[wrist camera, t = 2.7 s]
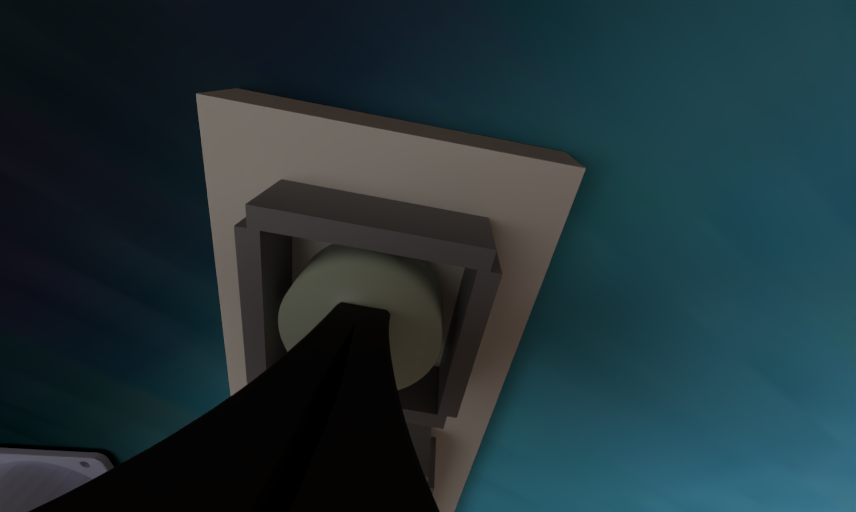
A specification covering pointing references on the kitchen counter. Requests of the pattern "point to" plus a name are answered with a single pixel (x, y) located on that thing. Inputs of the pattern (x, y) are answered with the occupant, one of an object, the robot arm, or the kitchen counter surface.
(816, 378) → the kitchen counter surface
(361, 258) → the one pip button
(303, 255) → the button panel
